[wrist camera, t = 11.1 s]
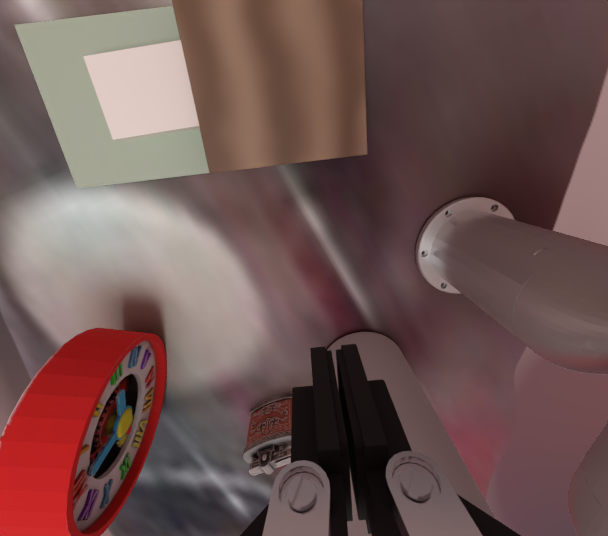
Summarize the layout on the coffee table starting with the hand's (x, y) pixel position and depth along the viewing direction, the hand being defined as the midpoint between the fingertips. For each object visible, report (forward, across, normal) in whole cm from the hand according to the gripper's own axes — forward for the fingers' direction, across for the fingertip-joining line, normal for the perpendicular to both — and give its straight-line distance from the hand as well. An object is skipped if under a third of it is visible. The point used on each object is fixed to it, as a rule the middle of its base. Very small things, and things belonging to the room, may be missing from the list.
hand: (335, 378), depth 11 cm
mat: (+26, +18, -14) cm, 35 cm away
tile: (+25, +14, -15) cm, 32 cm away
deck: (+26, +2, -15) cm, 30 cm away
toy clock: (+26, +25, +18) cm, 41 cm away
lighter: (+27, +8, +28) cm, 40 cm away
